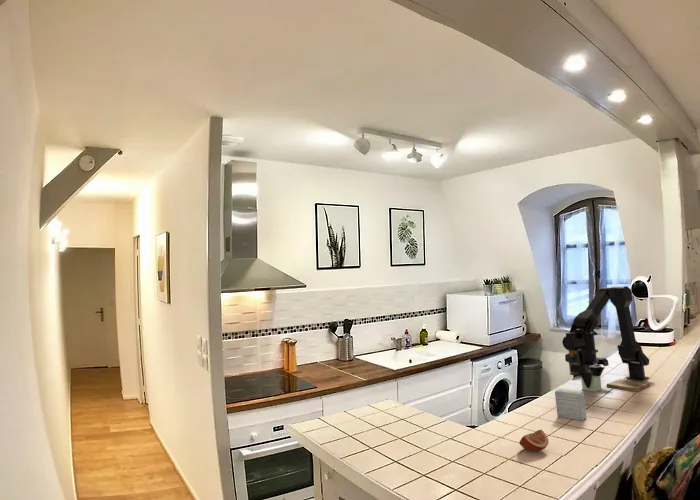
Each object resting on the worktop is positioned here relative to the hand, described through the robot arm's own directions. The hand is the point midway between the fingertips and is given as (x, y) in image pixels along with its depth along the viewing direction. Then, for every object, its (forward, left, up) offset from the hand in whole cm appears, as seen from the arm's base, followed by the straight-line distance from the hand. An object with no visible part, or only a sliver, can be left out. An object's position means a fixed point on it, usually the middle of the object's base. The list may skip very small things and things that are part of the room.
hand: (591, 386), depth 175 cm
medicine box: (+37, +13, -1) cm, 39 cm away
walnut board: (-12, +8, -1) cm, 14 cm away
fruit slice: (+69, +21, -1) cm, 72 cm away
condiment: (-21, -17, -1) cm, 27 cm away
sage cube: (0, 0, -1) cm, 1 cm away
